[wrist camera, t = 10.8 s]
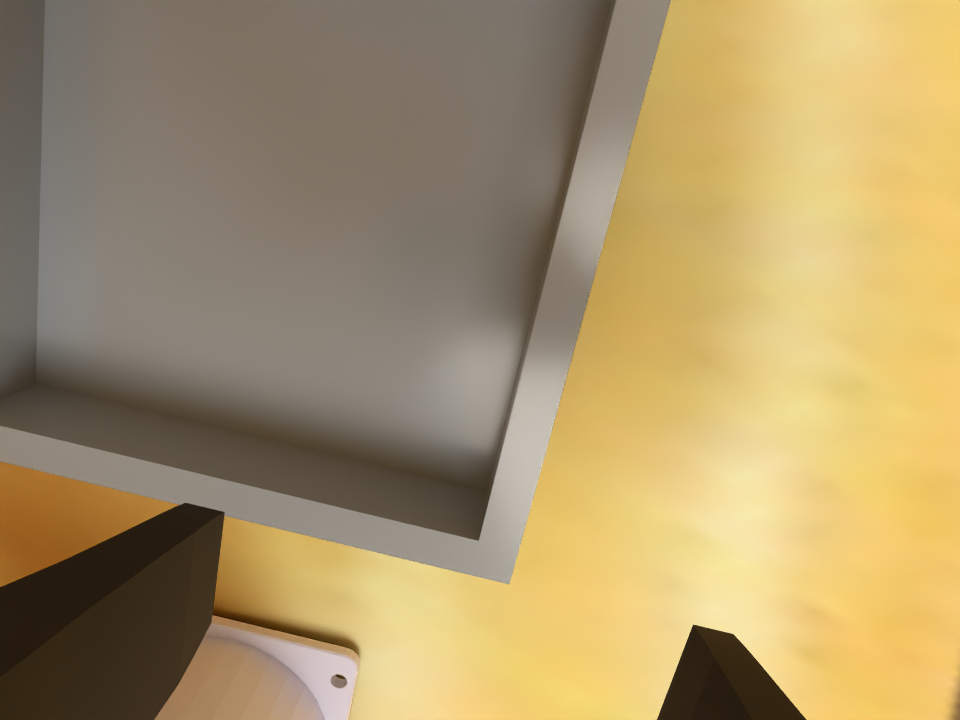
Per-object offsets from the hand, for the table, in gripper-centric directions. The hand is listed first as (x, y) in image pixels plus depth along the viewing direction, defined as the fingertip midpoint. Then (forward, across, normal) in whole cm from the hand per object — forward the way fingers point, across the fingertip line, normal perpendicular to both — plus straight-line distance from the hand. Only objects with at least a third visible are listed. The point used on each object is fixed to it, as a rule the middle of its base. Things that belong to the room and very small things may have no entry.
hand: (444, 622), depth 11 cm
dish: (+9, +6, -4) cm, 12 cm away
